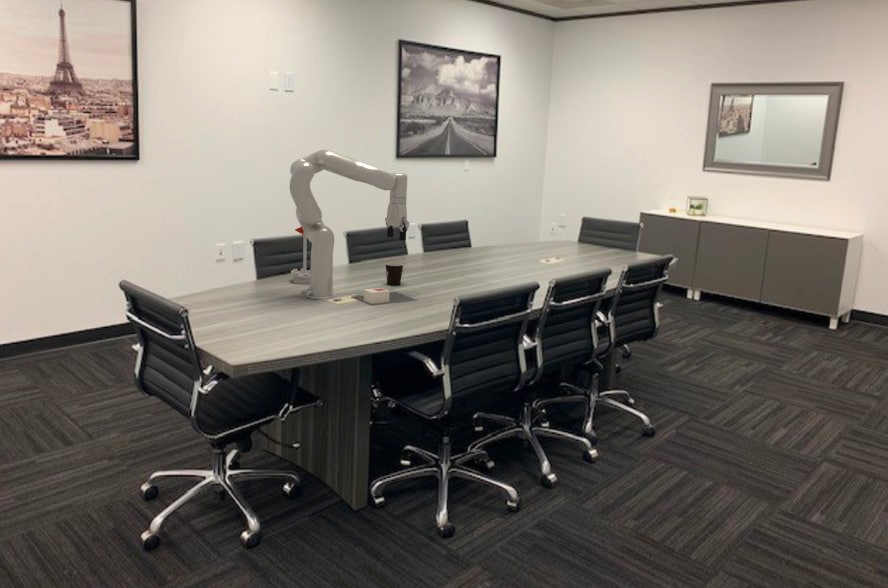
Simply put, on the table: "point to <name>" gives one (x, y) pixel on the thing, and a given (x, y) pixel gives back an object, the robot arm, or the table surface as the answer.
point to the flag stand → (303, 275)
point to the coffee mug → (394, 273)
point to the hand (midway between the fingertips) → (396, 238)
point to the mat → (393, 298)
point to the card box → (376, 295)
